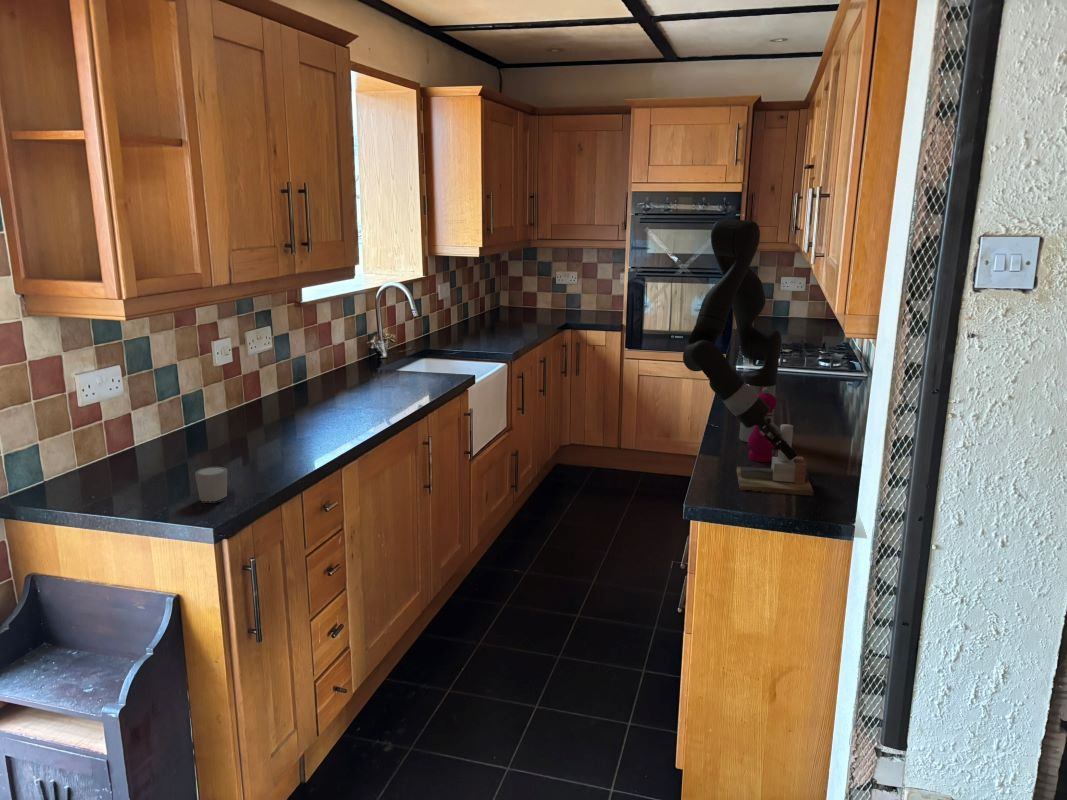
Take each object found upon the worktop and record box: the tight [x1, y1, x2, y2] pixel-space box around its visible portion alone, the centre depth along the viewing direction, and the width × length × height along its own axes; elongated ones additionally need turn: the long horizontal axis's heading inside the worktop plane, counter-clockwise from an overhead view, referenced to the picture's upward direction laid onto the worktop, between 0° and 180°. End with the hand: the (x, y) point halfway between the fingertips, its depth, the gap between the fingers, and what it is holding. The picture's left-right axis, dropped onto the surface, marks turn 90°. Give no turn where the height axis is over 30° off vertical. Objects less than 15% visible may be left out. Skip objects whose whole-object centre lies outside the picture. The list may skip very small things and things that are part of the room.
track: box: [736, 455, 814, 496], centre depth 195 cm, size 15×17×6 cm
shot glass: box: [194, 466, 228, 502], centre depth 178 cm, size 7×7×7 cm
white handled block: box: [770, 423, 796, 482], centre depth 193 cm, size 6×5×13 cm
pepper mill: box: [747, 388, 777, 463], centre depth 213 cm, size 7×7×20 cm
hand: (792, 455), depth 193 cm, fingers closed on white handled block, 3 cm apart
